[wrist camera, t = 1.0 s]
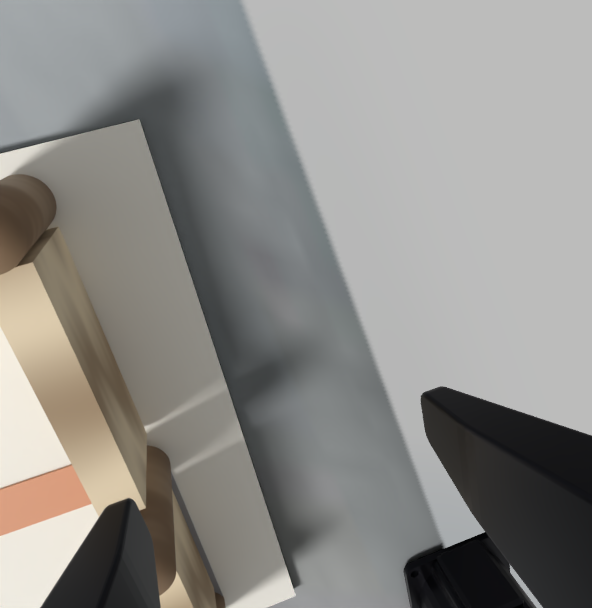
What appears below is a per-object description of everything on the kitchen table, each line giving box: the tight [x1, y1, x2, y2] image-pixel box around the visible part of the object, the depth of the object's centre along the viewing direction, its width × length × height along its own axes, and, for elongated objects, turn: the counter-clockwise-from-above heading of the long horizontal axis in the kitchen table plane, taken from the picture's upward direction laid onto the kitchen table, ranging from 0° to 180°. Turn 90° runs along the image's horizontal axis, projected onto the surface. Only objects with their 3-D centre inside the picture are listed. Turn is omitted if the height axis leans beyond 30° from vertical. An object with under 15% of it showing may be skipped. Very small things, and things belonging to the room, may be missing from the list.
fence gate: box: [0, 174, 176, 596], centre depth 17 cm, size 14×2×6 cm, turn 12°
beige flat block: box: [159, 490, 226, 608], centre depth 23 cm, size 9×2×5 cm, turn 12°
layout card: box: [0, 119, 296, 608], centre depth 22 cm, size 25×19×1 cm
